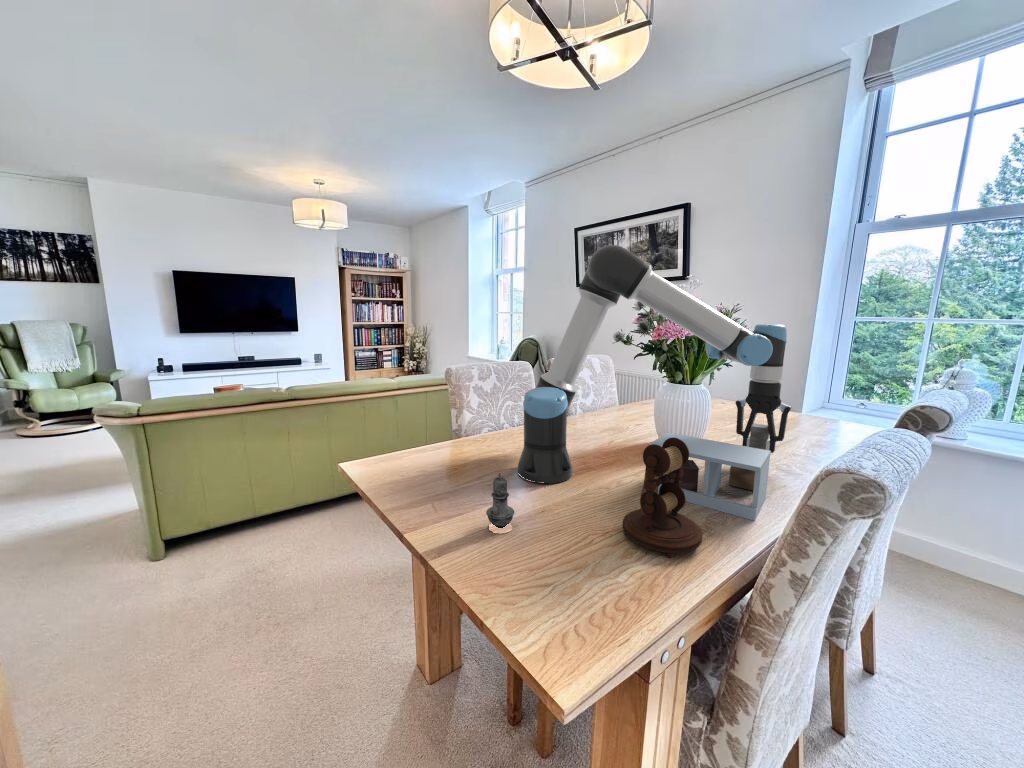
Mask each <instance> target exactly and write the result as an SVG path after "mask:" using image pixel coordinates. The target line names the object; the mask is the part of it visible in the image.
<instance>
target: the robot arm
mask: <svg viewBox="0 0 1024 768" xmlns="http://www.w3.org/2000/svg"><path fill="white" fill-rule="evenodd" d="M578 292H579V295H580V298H579V300H578V303H577V305H576V308H575V310H574V312H573V314H572V317H571V318H570V322H569V324H568V325H567V328H566V330H565V333H564V335H563V337H562V339H561V341H560V344H559V346H558V348H557V351H556V352H555V355H554V358H553V360H552V362H551V365H550V367H549V370H548V371H547V372H545V373H543V374H541V375H540V378H539V380H538V382H537V385H536V386H535V387H534V388H531V389H529V390H527V391H526V392H525V394H524V396H523V403H522V407H523V448H522V451H521V455H520V457H519V461H518V463H517V474H518V473H519V474H520V475H521V476H522V477H524V478H525V479H528V480H531V481H535V482H544V483H554V484H557V483H556V482H560V483H563V482H566V481H568V480H570V478H572V476H573V465H572V462H571V459H570V455H569V453H568V449H567V428H568V427H567V424H568V422H567V421H568V420H567V419H568V411H569V409H570V406H571V404H572V402H573V399H574V397H575V395H576V393H577V387H576V385H575V383H576V380H577V379H578V377H579V374H580V371H581V370H582V368H583V366H584V364H585V361H586V360H587V356H588V354H589V352H590V350H591V348H592V346H593V343H594V341H595V339H596V337H597V335H598V333H599V331H600V328H601V326H602V324H603V322H604V320H605V317H606V315H607V313H608V311H609V309H611V308H612V307H615V306H617V304H618V301H619V300H620V298H621V296H622V297H623V298H625V299H627V300H632V299H635V300H636V301H638V302H640V303H641V304H642V305H644V306H646V307H648V308H650V309H651V310H653V311H654V312H656V313H657V314H660V315H661V316H663V317H664V318H666V319H668V320H669V321H671V322H672V323H674V324H676V325H678V326H679V327H680V328H682V329H685V330H686V331H688V332H689V333H690V334H693V335H694V336H695V337H697V338H699V339H700V340H702V341H703V342H705V354H706V356H707V357H708V359H709V358H710V359H715V360H720V359H721V360H730V361H733V362H736V363H740V364H741V365H744V366H747V367H750V373H749V378H750V380H749V382H748V383H749V384H748V392H747V393H748V394H747V396H746V397H745V398H744V399H737V400H736V401H735V406H736V408H737V411H736V413H737V414H736V426H735V427H736V429H735V431H736V434H737V435H739V436H742V445H741V446H746V447H749V442H750V432H751V426H752V425H753V424H754V423H755V421H756V417H757V414H763V415H765V416H766V417H765V418H766V422H767V425H768V430H769V439H768V440H767V443H766V450H769V451H771V454H773V453H774V452H775V451H776V450H775V449H776V444H777V443H776V442H783V440H784V439H785V434H786V429H787V428H786V427H787V422H788V417H789V416H788V415H789V412H790V411H791V410H792V406H791V405H790V404H789V405H788V404H785V403H784V402H782V400H781V392H782V391H781V389H782V383H781V381H782V379H783V371H784V370H783V369H784V362H785V361H784V360H785V359H784V358H785V352H786V345H787V342H788V340H787V333H788V332H787V327H786V325H784V324H778V323H777V324H775V323H774V324H773V323H769V324H767V323H766V324H765V323H764V324H763V323H762V324H756V325H755V326H754V329H753V331H751V330H749V329H747V328H746V327H745V326H743V325H741V324H739V323H738V322H736V321H734V320H733V319H731V318H729V317H728V316H726V315H724V313H721V312H720V311H718V310H716V309H714V308H713V307H712V306H710V305H708V304H707V303H705V302H703V301H702V300H700V299H698V298H697V297H695V296H693V295H692V294H690V293H689V292H687V291H686V290H683V289H682V288H680V287H679V286H677V285H675V284H673V283H672V282H670V281H669V280H667V279H665V278H664V277H662V276H660V275H659V274H657V273H656V272H653V267H652V265H651V264H649V263H648V262H646V261H644V260H643V259H641V258H640V257H638V256H637V255H635V254H634V253H632V252H631V251H630V250H628V249H627V248H625V247H623V246H621V245H617V244H609V245H604V246H603V247H600V248H598V250H596V251H595V252H594V253H593V254H592V256H591V258H590V260H589V263H588V266H587V269H586V271H585V274H584V276H583V279H582V280H581V282H580V286H579V287H578ZM746 405H748V407H749V408H750V409H751V411H750V414H749V417H748V421H747V423H746V425H745V429H744V415H745V406H746ZM779 407H780V412H781V416H780V420H779V421H780V422H779V428H778V429H779V430H778V434H776V425H775V419H774V411H776V409H778V408H779ZM567 479H568V480H567ZM565 480H566V481H565ZM562 481H563V482H562Z"/></svg>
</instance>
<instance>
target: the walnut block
mask: <svg viewBox="0 0 1024 768" xmlns="http://www.w3.org/2000/svg"><path fill="white" fill-rule="evenodd" d="M749 436H750V442H749V447H752V448H757V449H763V450H766V443H767V440H768V439H769V440H770V437H769V430H768V424H762V423H756V422H754V423H753V425H752V426H751V431H750V435H749ZM729 470H730V471H729V480H728V485H729V486H733V487H736V488H741V489H745V490H749V491H753V489H754V479H755V471H753V470H748V469H743V468H738V467H734V466H730V469H729Z"/></svg>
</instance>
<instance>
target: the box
mask: <svg viewBox="0 0 1024 768" xmlns="http://www.w3.org/2000/svg"><path fill="white" fill-rule="evenodd" d="M681 469H682V470H683V472H684V473H683V476H682V478H681V480H679V482H680V486H681V488H682V489H685V490H689V491H693V492H697V493H698V487H699V486H698V485H699V472H700V468H699V466H698V465H697V464H696V462H695V461H694V460H693V459H688V461H687V462H686V463H685V464H684V465H682V467H681ZM668 482H672V483H674V479H671V480H670V481H668Z"/></svg>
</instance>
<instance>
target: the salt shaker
mask: <svg viewBox="0 0 1024 768" xmlns="http://www.w3.org/2000/svg"><path fill="white" fill-rule="evenodd" d="M509 496H510V494H509V492H508V480H507V478H505V477H503V476H502V474H501V473H498V476H497V477H495V478H494V479H493V481H492V493H491V497H492V506H491V507H488V509H487V510H486V512H485V514H486V516H487V519H488V521H489V523H490V524H491V523H492V524H493V525H495V526H496V527H498V528H503V527H505V526H506V525H507V524H509V523H511V522H512V520H513V517H514V515H515V509H514V508H513V507H511V506H509V504H508V498H509Z"/></svg>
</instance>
